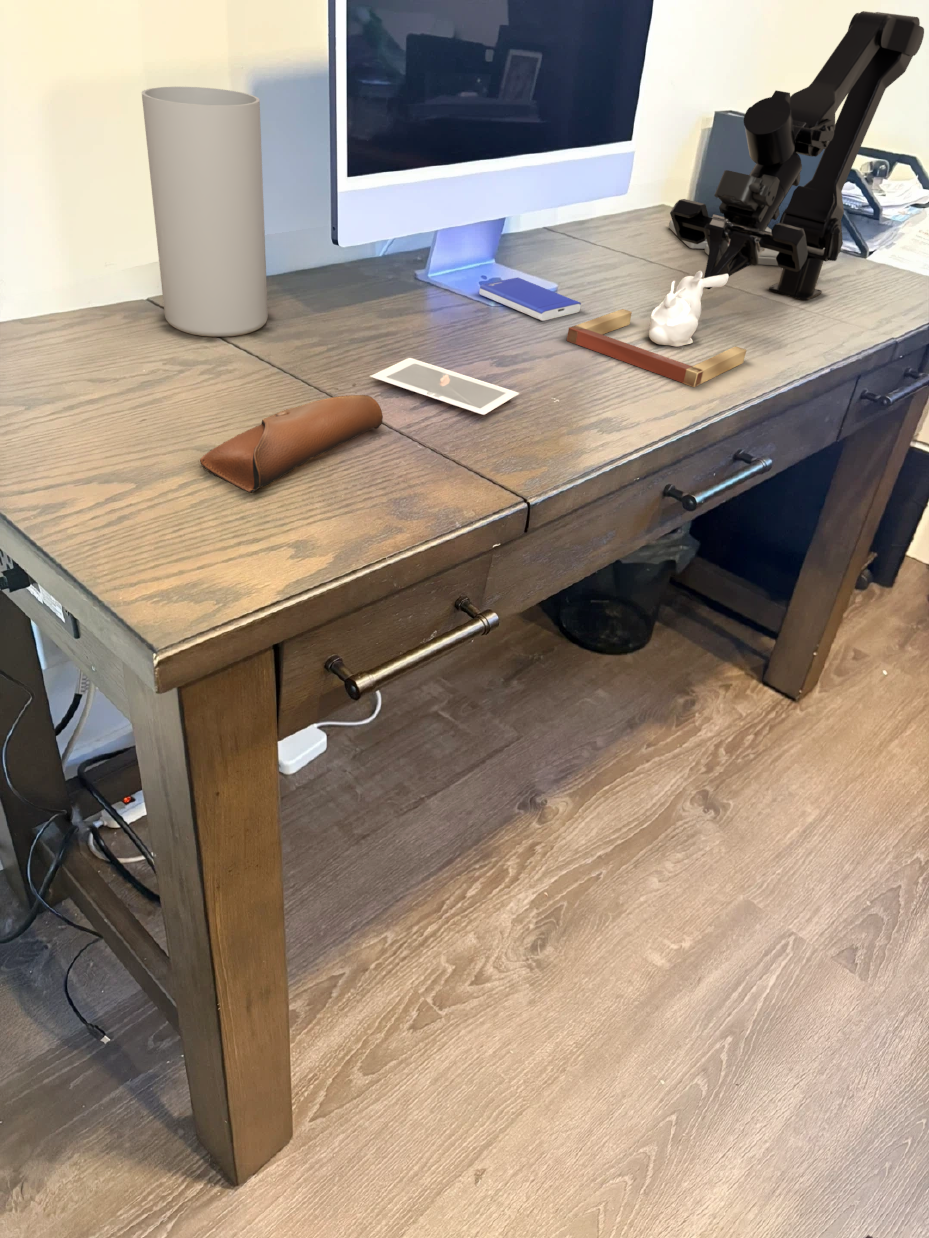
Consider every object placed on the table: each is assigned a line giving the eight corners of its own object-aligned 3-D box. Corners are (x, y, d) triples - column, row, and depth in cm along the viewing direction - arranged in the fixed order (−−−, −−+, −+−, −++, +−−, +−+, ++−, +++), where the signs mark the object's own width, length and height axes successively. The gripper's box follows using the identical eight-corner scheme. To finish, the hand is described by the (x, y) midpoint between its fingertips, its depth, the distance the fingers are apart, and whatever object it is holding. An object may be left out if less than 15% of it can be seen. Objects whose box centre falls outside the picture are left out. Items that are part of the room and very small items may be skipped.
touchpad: (409, 366, 110) (409, 348, 109) (518, 402, 105) (520, 384, 103) (369, 385, 105) (369, 367, 103) (482, 424, 99) (484, 405, 98)
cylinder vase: (288, 327, 117) (282, 103, 103) (201, 346, 110) (182, 108, 95) (231, 299, 124) (218, 85, 109) (146, 315, 116) (119, 88, 102)
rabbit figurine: (678, 323, 132) (694, 253, 126) (725, 339, 128) (744, 267, 123) (632, 341, 124) (647, 267, 119) (681, 358, 121) (699, 282, 115)
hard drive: (479, 284, 133) (542, 310, 127) (519, 276, 138) (581, 301, 131) (478, 295, 134) (540, 322, 128) (518, 287, 139) (579, 312, 132)
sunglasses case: (319, 403, 98) (345, 360, 93) (364, 452, 98) (392, 411, 93) (191, 462, 86) (214, 415, 81) (242, 518, 85) (268, 474, 81)
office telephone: (816, 253, 162) (706, 246, 159) (811, 269, 163) (703, 262, 160) (767, 218, 180) (668, 211, 177) (763, 232, 182) (665, 225, 179)
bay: (620, 321, 130) (622, 308, 129) (743, 363, 121) (746, 349, 120) (566, 341, 122) (568, 327, 121) (694, 387, 113) (697, 373, 112)
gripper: (693, 133, 123) (632, 232, 122) (826, 161, 114) (761, 268, 113) (707, 190, 132) (651, 282, 132) (831, 220, 123) (771, 319, 123)
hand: (705, 287), depth 125 cm, fingers closed
